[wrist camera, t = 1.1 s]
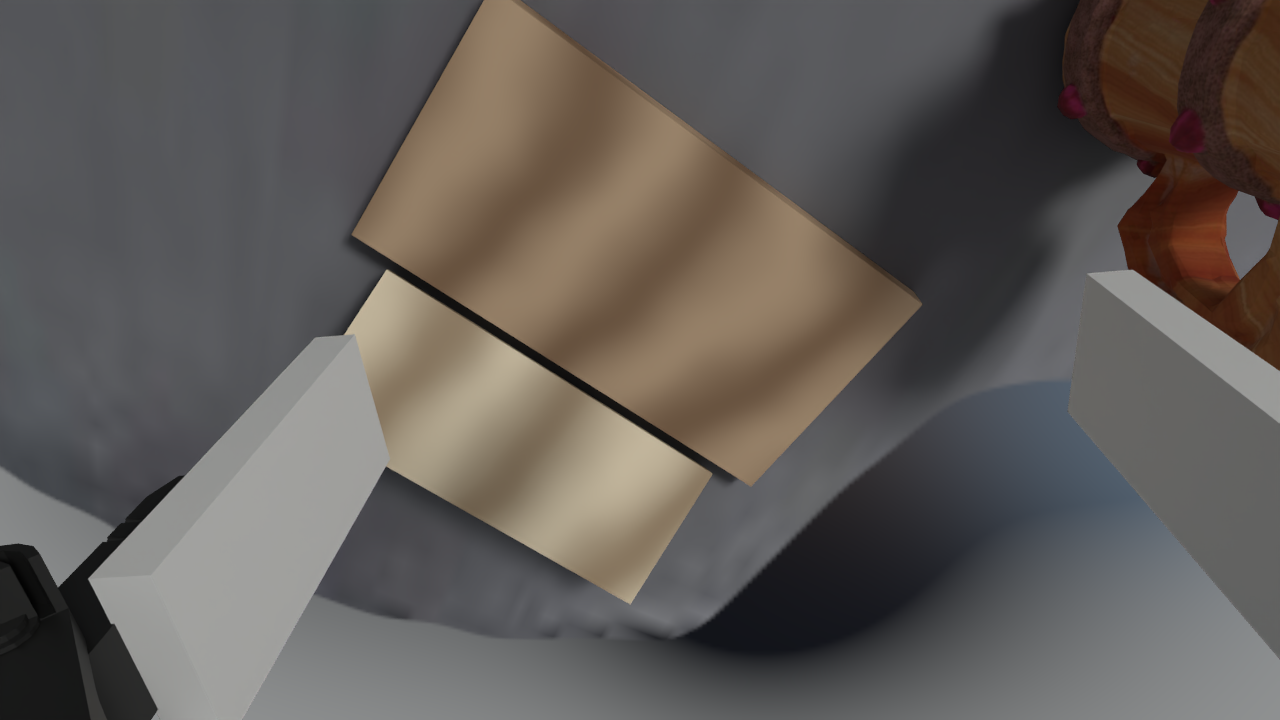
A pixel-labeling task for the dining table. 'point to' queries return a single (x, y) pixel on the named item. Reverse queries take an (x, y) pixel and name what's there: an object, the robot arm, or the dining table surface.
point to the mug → (1188, 142)
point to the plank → (519, 441)
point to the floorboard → (627, 245)
